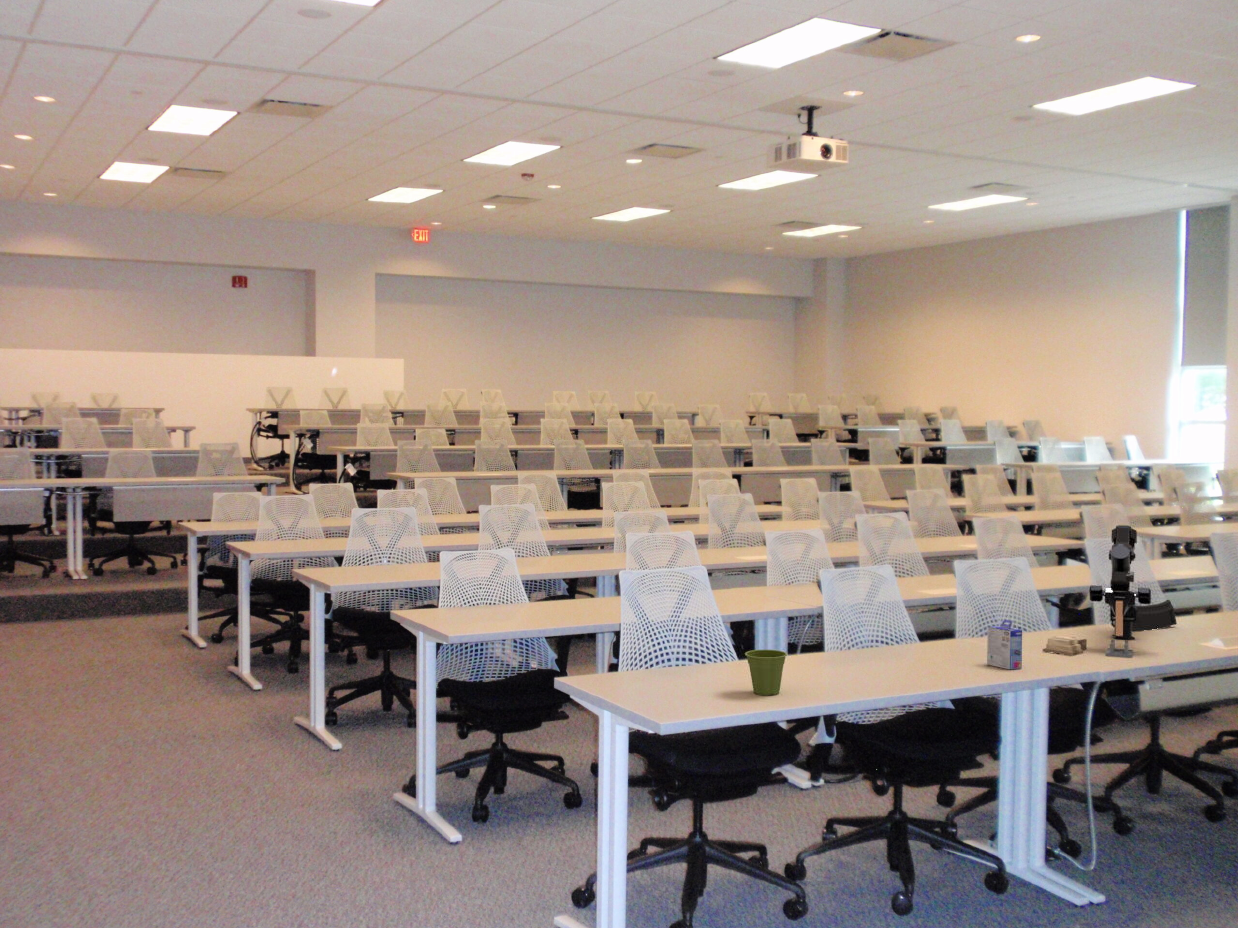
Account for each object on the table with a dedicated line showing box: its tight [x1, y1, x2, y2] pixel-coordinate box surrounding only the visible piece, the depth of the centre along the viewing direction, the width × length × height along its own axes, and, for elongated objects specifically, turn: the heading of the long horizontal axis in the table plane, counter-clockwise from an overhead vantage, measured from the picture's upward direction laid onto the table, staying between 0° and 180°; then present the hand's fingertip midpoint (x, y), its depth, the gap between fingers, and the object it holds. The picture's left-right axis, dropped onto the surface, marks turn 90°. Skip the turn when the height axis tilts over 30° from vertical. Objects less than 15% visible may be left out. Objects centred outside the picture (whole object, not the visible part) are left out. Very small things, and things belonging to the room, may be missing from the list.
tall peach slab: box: [1116, 600, 1123, 636], centre depth 376 cm, size 5×2×11 cm, turn 154°
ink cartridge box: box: [986, 619, 1023, 670], centre depth 356 cm, size 10×6×14 cm, turn 27°
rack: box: [1042, 635, 1088, 657], centre depth 382 cm, size 15×10×5 cm, turn 130°
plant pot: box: [744, 649, 788, 697], centre depth 320 cm, size 12×12×11 cm
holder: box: [1104, 639, 1134, 659], centre depth 376 cm, size 10×8×4 cm
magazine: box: [1110, 599, 1178, 632], centre depth 425 cm, size 17×3×30 cm
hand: (1119, 614), depth 374 cm, fingers closed on tall peach slab, 2 cm apart
